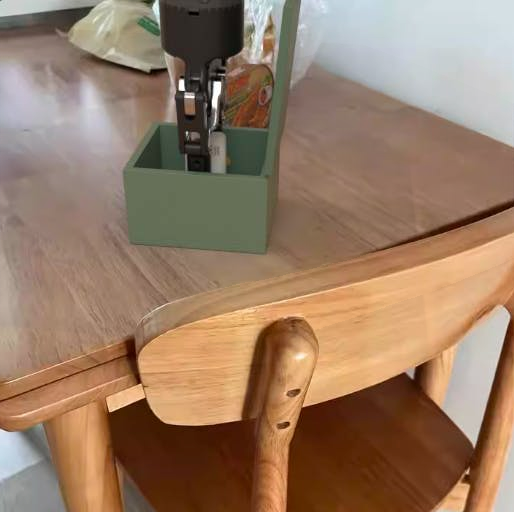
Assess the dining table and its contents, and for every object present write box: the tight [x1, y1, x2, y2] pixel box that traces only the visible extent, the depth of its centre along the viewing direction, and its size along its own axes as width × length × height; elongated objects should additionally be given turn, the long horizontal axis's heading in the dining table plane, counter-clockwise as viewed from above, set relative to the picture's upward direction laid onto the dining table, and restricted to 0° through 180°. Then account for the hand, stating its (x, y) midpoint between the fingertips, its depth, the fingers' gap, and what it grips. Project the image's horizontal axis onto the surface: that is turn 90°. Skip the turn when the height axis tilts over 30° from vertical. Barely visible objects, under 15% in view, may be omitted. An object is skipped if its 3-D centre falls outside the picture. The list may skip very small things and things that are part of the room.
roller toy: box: [185, 132, 231, 174], centre depth 73 cm, size 4×6×6 cm
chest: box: [122, 120, 281, 255], centre depth 75 cm, size 14×13×8 cm
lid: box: [264, 0, 302, 176], centre depth 67 cm, size 14×13×1 cm
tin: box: [220, 63, 275, 128], centre depth 93 cm, size 15×3×8 cm, turn 151°
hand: (206, 173), depth 74 cm, fingers closed on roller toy, 6 cm apart
